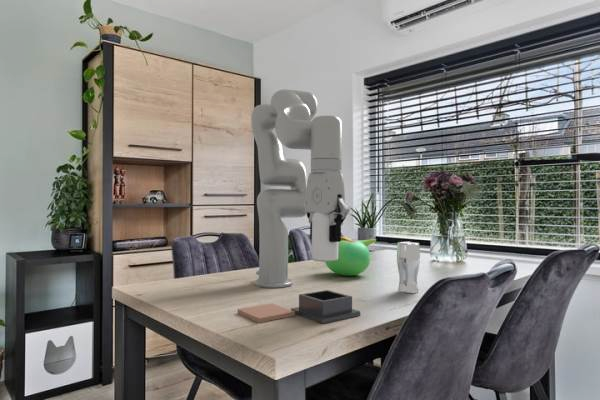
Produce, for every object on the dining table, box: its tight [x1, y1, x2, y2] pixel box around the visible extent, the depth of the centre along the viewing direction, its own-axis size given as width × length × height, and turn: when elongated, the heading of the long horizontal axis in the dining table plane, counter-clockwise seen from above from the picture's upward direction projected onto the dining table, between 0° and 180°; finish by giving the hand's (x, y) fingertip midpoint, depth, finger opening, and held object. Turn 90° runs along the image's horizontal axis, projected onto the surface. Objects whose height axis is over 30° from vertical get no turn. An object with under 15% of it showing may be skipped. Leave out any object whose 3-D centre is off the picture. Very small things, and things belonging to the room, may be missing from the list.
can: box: [311, 211, 338, 263], centre depth 101 cm, size 6×6×12 cm
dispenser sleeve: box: [290, 289, 361, 324], centre depth 101 cm, size 12×12×4 cm
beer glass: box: [396, 241, 421, 294], centre depth 128 cm, size 7×7×15 cm
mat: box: [237, 302, 296, 324], centre depth 100 cm, size 10×10×1 cm
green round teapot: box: [324, 236, 377, 277], centre depth 156 cm, size 18×17×15 cm
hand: (325, 239), depth 101 cm, fingers closed on can, 6 cm apart
